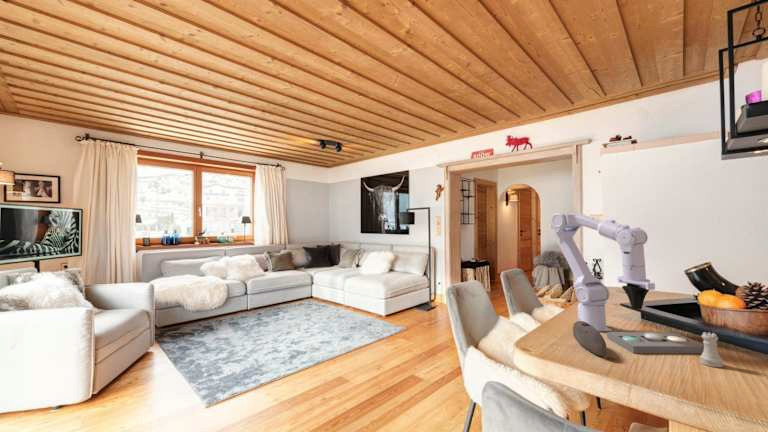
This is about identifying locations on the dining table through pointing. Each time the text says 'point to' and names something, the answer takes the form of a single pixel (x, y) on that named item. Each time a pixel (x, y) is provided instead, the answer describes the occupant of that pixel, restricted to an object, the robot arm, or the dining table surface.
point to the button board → (655, 343)
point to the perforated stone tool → (589, 338)
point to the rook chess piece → (711, 351)
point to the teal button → (631, 339)
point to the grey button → (653, 337)
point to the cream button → (677, 339)
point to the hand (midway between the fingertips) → (636, 308)
